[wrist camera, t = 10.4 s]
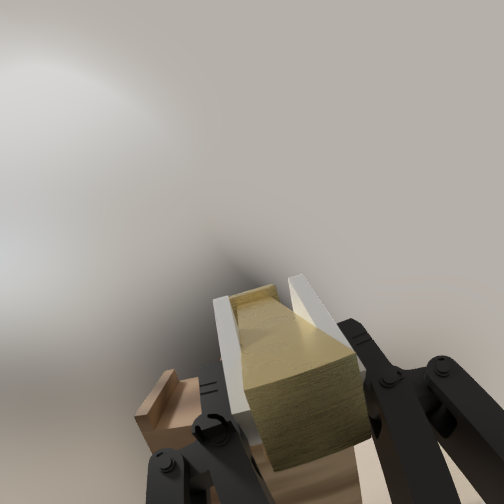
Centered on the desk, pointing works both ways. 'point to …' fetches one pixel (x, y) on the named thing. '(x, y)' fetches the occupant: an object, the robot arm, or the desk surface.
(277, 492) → the hinge block
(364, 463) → the desk surface
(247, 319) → the golden wooden bar
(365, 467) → the desk surface
